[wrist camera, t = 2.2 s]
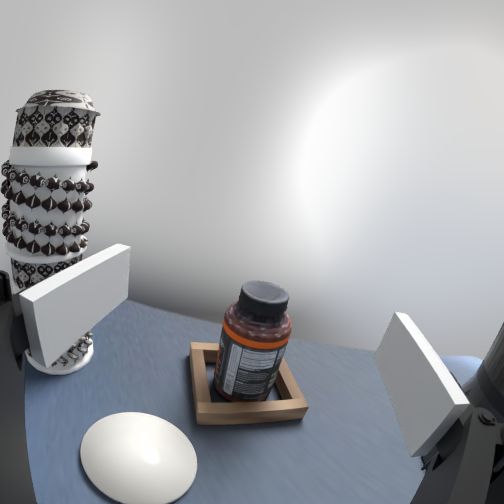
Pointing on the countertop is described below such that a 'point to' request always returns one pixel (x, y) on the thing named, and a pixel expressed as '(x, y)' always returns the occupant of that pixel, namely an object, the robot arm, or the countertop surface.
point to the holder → (242, 411)
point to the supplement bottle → (252, 342)
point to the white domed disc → (138, 459)
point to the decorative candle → (49, 198)
